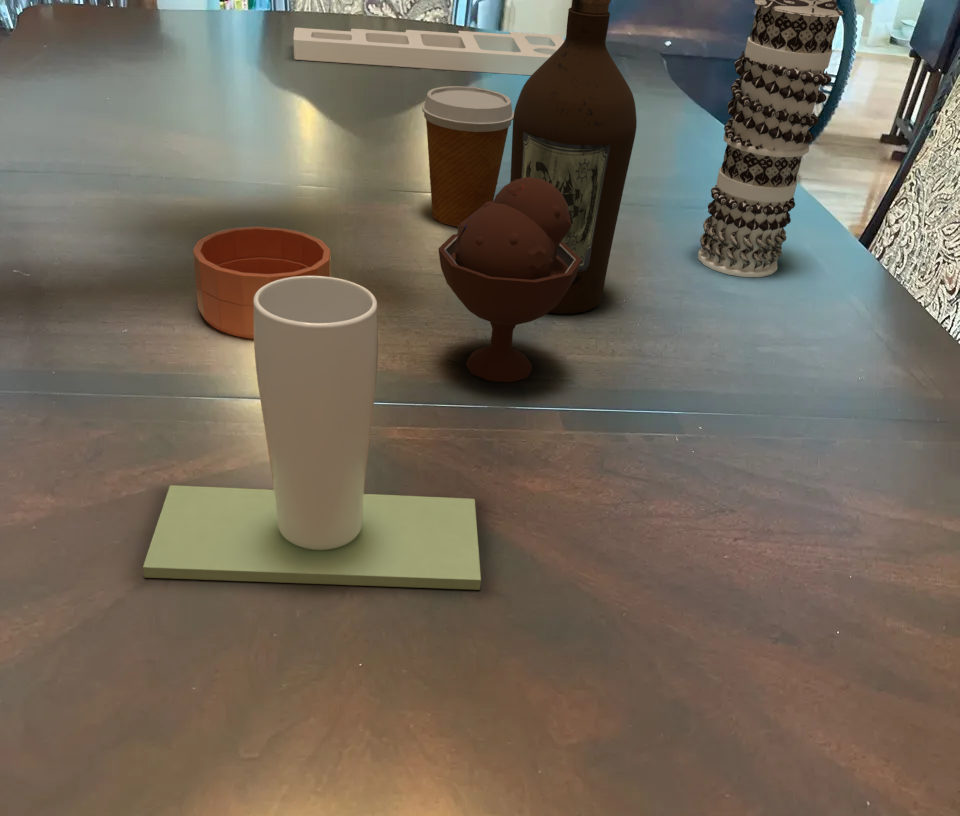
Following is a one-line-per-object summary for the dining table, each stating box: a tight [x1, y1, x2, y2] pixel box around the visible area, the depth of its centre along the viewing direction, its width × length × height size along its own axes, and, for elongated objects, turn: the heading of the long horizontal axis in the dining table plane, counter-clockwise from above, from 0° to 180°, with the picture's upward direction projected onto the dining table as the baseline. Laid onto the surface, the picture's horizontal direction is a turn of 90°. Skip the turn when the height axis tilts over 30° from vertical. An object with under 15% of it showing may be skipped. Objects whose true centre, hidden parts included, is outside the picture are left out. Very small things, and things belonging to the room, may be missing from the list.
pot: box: [192, 226, 332, 340], centre depth 90 cm, size 11×11×6 cm
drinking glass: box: [253, 276, 379, 550], centre depth 61 cm, size 7×7×15 cm
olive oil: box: [509, 0, 638, 315], centre depth 92 cm, size 11×11×25 cm
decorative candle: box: [697, 0, 845, 278], centre depth 103 cm, size 9×9×25 cm
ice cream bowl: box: [437, 177, 581, 383], centre depth 83 cm, size 11×11×15 cm
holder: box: [292, 27, 565, 76], centre depth 172 cm, size 45×18×3 cm, turn 96°
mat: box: [142, 484, 482, 591], centre depth 66 cm, size 20×9×1 cm, turn 93°
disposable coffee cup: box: [421, 85, 514, 227], centre depth 111 cm, size 10×10×12 cm
